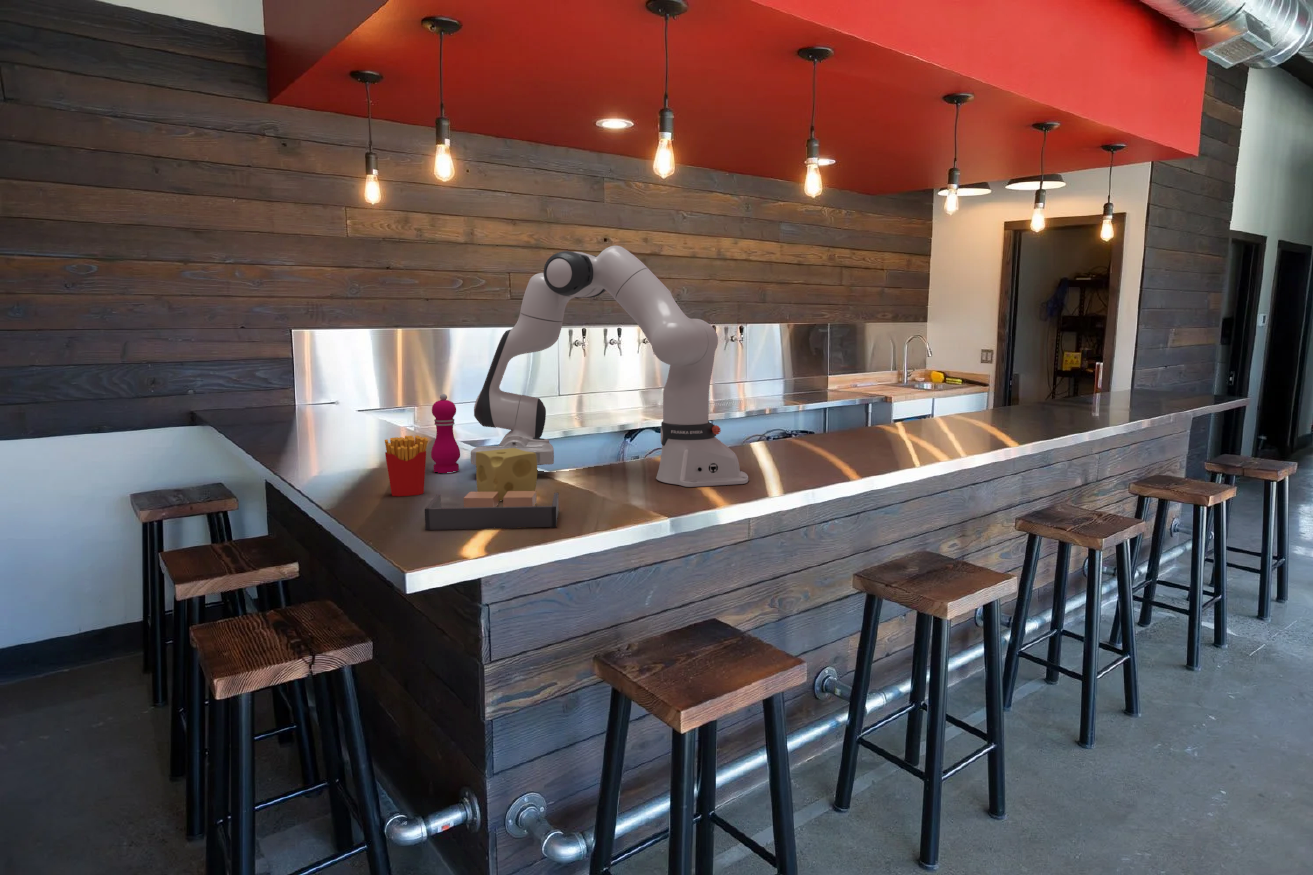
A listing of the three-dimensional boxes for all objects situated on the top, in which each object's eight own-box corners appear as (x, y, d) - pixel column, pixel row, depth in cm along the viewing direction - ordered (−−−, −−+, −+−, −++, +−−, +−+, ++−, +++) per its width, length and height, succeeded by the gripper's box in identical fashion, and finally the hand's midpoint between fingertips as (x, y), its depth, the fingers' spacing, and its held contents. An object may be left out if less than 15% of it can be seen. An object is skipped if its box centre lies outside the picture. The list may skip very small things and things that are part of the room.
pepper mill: (453, 474, 200) (450, 395, 196) (426, 473, 201) (423, 394, 198) (465, 469, 206) (462, 392, 203) (439, 468, 208) (436, 392, 205)
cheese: (494, 503, 170) (493, 457, 169) (474, 494, 179) (473, 450, 177) (538, 497, 176) (537, 452, 175) (516, 488, 185) (515, 446, 183)
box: (558, 511, 163) (558, 492, 162) (556, 527, 151) (555, 506, 151) (437, 513, 161) (436, 494, 160) (425, 529, 149) (424, 509, 148)
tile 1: (498, 505, 170) (498, 491, 169) (493, 512, 164) (492, 498, 163) (470, 505, 169) (470, 491, 169) (464, 512, 164) (463, 498, 163)
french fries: (387, 497, 175) (384, 439, 173) (386, 493, 179) (383, 436, 177) (430, 494, 178) (428, 436, 176) (428, 490, 182) (426, 434, 180)
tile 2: (536, 504, 170) (536, 491, 170) (532, 511, 164) (532, 497, 164) (508, 504, 170) (508, 491, 170) (503, 511, 164) (503, 497, 164)
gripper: (473, 439, 201) (465, 448, 187) (555, 438, 203) (552, 448, 189) (474, 463, 202) (466, 474, 188) (555, 463, 204) (553, 474, 190)
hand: (510, 461), depth 189 cm, fingers closed
